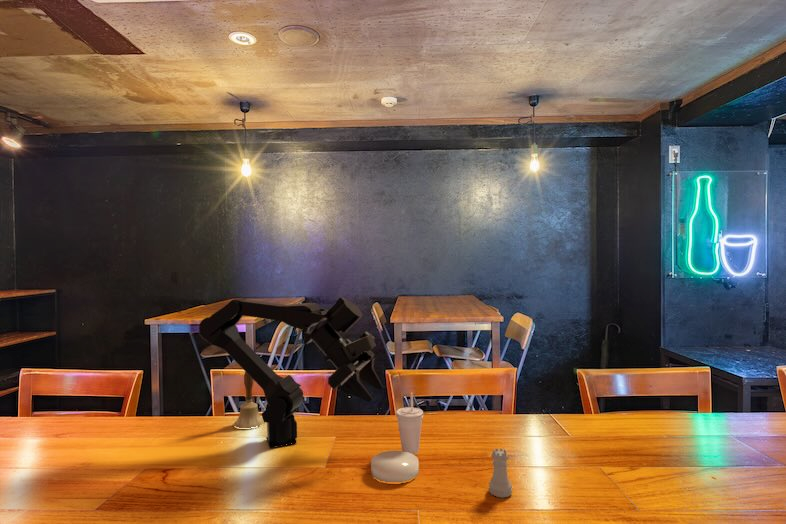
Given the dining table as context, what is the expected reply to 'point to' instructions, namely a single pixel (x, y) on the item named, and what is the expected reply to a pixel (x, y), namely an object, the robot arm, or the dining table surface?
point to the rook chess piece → (500, 475)
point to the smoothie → (410, 427)
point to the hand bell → (248, 408)
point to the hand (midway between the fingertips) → (376, 394)
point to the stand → (394, 466)
